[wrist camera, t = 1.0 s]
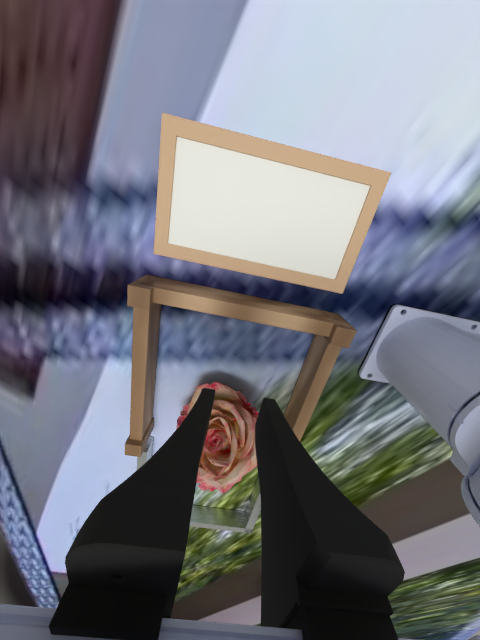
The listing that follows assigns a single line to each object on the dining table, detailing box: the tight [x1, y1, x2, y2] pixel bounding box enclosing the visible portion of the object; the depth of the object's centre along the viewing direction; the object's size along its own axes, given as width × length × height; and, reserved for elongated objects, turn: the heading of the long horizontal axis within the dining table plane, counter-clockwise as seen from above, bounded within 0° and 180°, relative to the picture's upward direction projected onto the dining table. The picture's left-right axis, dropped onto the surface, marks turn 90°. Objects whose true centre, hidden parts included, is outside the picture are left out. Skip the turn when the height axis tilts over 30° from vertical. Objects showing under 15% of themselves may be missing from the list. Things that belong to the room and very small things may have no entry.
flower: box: [177, 382, 259, 494], centre depth 22 cm, size 9×9×7 cm
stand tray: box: [137, 437, 261, 533], centre depth 29 cm, size 16×14×2 cm
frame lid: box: [154, 113, 391, 294], centre depth 17 cm, size 16×9×1 cm, turn 78°
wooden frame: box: [125, 275, 357, 457], centre depth 22 cm, size 17×18×4 cm
